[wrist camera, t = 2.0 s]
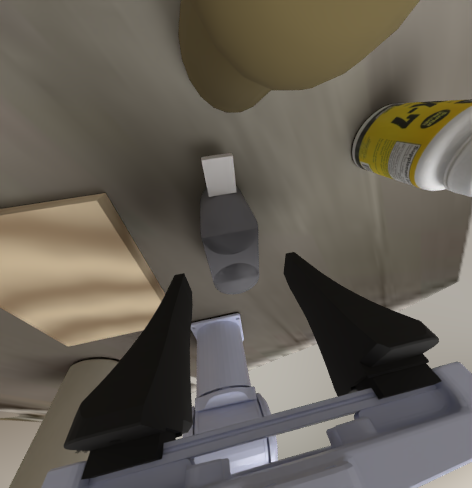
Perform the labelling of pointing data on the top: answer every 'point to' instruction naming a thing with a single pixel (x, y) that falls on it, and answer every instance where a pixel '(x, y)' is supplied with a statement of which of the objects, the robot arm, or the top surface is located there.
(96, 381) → the travel mug
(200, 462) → the robot arm
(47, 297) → the wooden board
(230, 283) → the connector
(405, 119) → the supplement bottle
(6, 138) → the top surface
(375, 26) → the cork
